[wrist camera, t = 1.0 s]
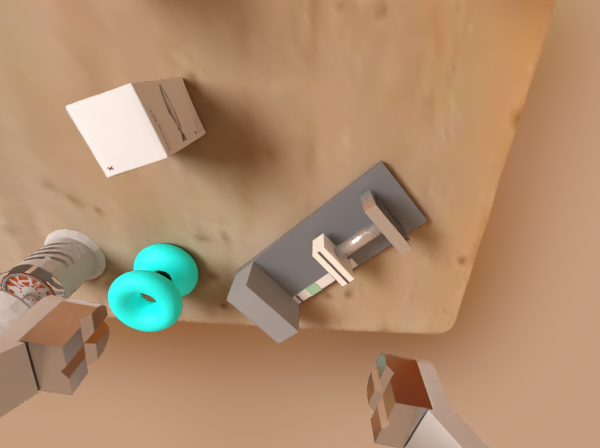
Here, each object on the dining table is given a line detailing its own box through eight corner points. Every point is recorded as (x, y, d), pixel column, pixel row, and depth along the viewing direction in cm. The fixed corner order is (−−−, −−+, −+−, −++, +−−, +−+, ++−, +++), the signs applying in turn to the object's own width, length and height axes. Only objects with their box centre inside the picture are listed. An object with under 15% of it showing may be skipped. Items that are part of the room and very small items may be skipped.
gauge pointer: (323, 233, 46) (324, 248, 42) (351, 262, 48) (354, 279, 44) (312, 240, 46) (312, 256, 43) (340, 269, 49) (342, 286, 45)
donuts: (176, 341, 46) (105, 328, 46) (198, 296, 55) (139, 284, 55) (179, 287, 42) (101, 272, 41) (203, 247, 51) (139, 234, 50)
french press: (111, 282, 55) (-28, 435, 32) (43, 277, 55) (-142, 427, 32) (98, 230, 50) (-76, 368, 28) (24, 226, 50) (-207, 359, 28)
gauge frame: (381, 160, 43) (392, 178, 37) (425, 217, 47) (442, 242, 40) (237, 270, 52) (226, 299, 46) (282, 311, 56) (278, 343, 49)
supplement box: (208, 134, 43) (170, 160, 31) (158, 149, 44) (105, 180, 33) (183, 75, 40) (131, 81, 28) (130, 93, 41) (60, 106, 29)
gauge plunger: (371, 187, 43) (378, 202, 39) (405, 228, 46) (414, 246, 41) (320, 225, 46) (321, 243, 41) (354, 261, 48) (358, 282, 44)
